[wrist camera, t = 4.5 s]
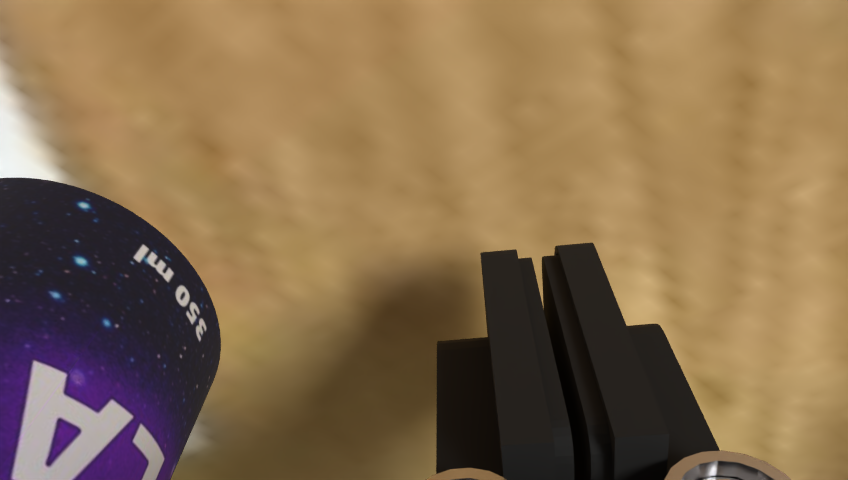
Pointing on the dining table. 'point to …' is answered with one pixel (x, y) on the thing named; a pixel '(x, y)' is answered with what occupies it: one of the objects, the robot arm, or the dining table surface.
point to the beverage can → (96, 339)
